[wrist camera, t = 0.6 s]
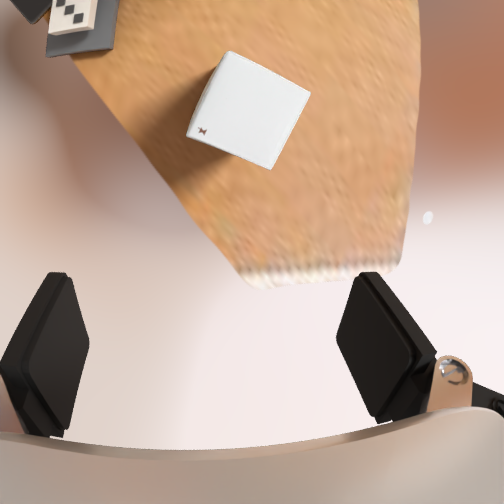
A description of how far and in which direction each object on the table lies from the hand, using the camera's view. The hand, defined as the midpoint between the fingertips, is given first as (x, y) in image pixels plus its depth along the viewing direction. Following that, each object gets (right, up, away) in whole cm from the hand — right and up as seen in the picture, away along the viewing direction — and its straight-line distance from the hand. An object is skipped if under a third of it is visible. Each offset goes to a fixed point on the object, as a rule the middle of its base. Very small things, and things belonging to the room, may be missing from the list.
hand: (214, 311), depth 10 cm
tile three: (-17, +27, +12) cm, 34 cm away
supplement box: (-1, +18, +23) cm, 29 cm away
